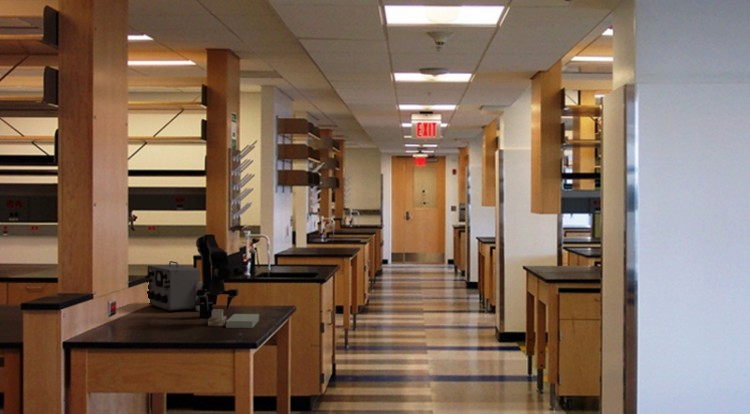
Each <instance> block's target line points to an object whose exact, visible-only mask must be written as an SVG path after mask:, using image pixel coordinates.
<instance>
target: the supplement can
mask: <svg viewBox="0 0 750 414" xmlns="http://www.w3.org/2000/svg"><path fill="white" fill-rule="evenodd" d="M201 287H202V281H200V282H197V284H196V292H197V290H198V289H200V288H201ZM197 298H198V296H196V310H195V311H196V312H199V313H200V306H199V305H197ZM201 303H202V302H201ZM208 303H211V302H208Z"/></svg>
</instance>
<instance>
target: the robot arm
mask: <svg viewBox="0 0 750 414" xmlns="http://www.w3.org/2000/svg"><path fill="white" fill-rule="evenodd" d="M195 246H196V249H197V253H199V255H200V260H201V261H200V262H201V263H200V264H201V280H202V281H201V282H202V287H201V288H200V289H198V290H197V292H196V296H198V298H197V305H199V306H200V312H199V316H198V318H199V319H209V318H211V317H212V310H214V309H215V307H214V306H216V305H217V302H218V301H217V300H218V296H220V295H228V296H227V300H226V312H228V311H229V308H230V306H231V303H232V301H233V299H234V298H236V297H237V296H238V295H239V290H238V288H229V289H228V290H226V287H225V280H226V279H228V278H229V277H230V273H231V272H230V270H229V269H228V268H227V266H229V264H230V262H229V256H228V255H227V252H226V251H225V250H224V248H221V247H219V245H218V242H217V241H216V235H215V234H212V233H211V234H207V233H206V234H204V235H203V236H202V235H201V236H199V237H198V238H197V239H196V241H195ZM201 302H202V303H201ZM208 302H211V303H208Z"/></svg>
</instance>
